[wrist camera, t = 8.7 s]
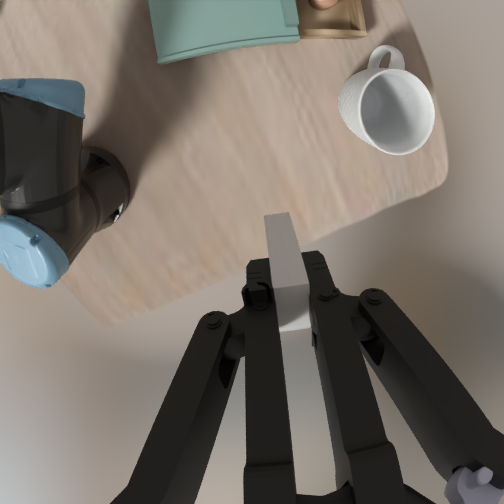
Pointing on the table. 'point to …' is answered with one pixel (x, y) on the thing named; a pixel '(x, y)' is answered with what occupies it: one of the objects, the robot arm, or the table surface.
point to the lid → (219, 26)
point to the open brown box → (331, 21)
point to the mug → (387, 105)
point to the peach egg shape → (322, 4)
